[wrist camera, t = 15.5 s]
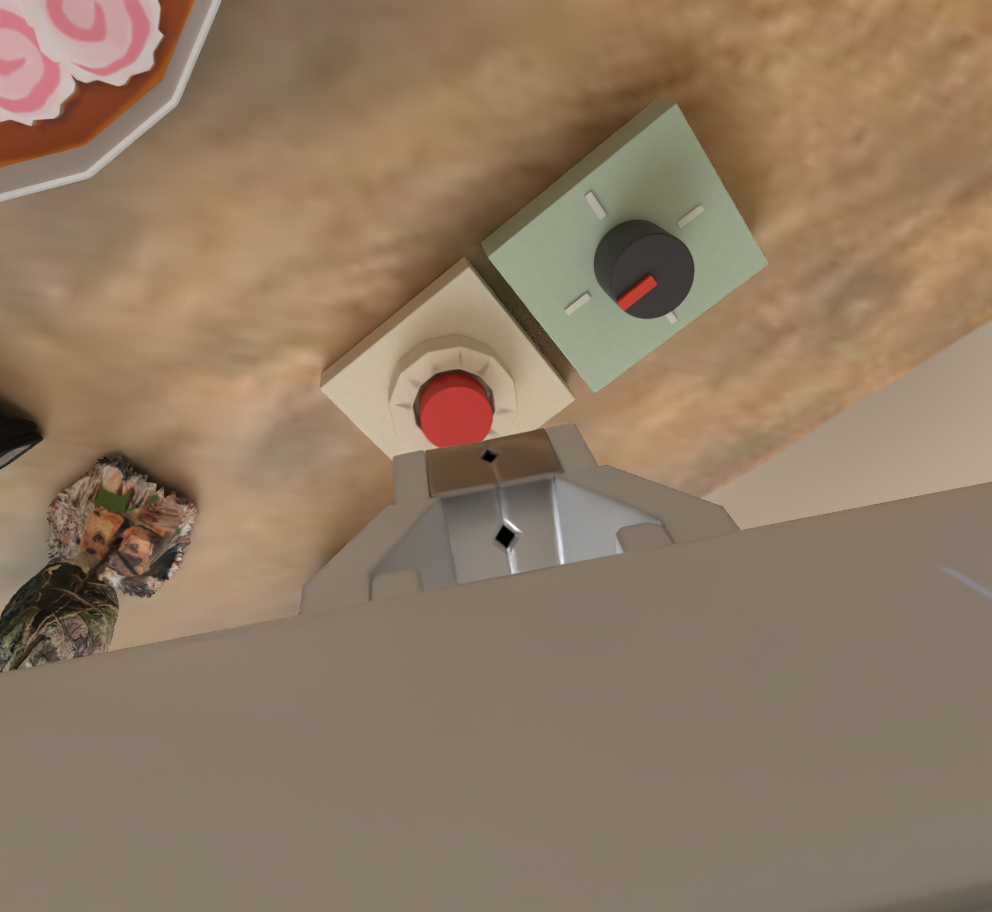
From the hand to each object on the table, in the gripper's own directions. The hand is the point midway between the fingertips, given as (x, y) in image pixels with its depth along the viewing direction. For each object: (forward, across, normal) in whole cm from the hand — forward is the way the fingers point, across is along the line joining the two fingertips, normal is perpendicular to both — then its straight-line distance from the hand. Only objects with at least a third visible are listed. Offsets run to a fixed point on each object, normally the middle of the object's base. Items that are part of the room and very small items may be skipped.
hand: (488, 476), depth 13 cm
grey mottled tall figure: (+29, +20, +16) cm, 39 cm away
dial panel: (+29, -10, +4) cm, 31 cm away
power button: (+25, 0, +10) cm, 27 cm away
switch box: (+29, 0, +10) cm, 31 cm away
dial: (+26, -10, +4) cm, 28 cm away
